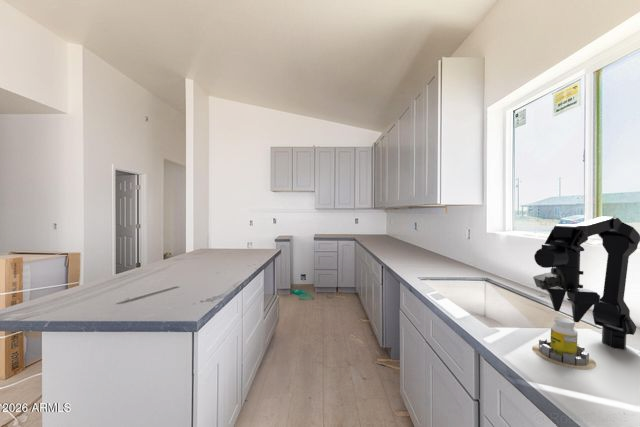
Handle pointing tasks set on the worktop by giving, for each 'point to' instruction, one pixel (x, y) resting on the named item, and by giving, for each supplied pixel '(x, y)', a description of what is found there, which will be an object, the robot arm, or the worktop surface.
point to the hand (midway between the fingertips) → (565, 316)
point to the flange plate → (588, 366)
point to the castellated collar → (564, 354)
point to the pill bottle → (563, 336)
